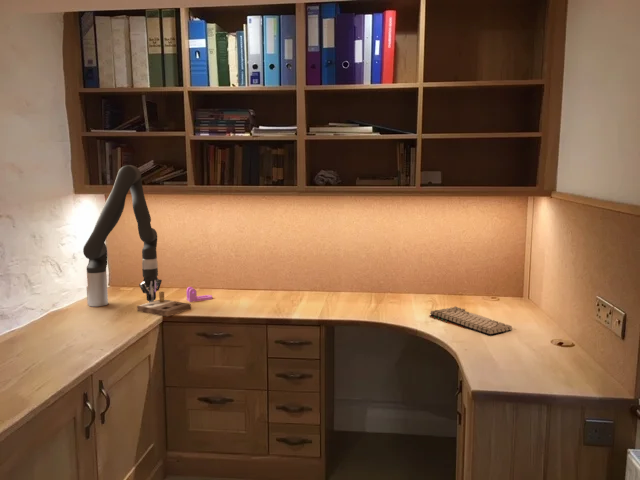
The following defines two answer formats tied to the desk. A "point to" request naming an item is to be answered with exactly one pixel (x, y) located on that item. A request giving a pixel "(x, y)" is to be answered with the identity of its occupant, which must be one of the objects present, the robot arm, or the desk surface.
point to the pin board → (163, 307)
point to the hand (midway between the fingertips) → (151, 300)
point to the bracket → (193, 296)
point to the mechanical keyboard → (470, 321)
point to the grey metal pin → (152, 295)
